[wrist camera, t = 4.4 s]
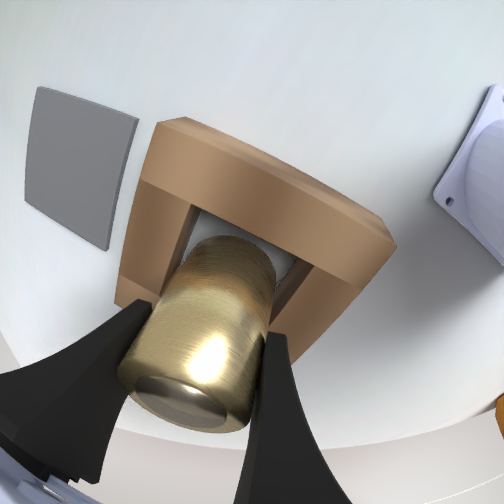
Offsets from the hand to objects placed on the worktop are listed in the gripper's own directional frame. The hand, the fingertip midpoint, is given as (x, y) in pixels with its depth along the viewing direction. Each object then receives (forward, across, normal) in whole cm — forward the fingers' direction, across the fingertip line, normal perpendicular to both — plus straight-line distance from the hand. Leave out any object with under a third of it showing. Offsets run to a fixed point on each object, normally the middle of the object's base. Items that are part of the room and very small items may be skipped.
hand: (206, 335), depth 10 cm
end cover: (+4, 0, 0) cm, 4 cm away
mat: (+6, +12, -4) cm, 14 cm away
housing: (+6, 0, 0) cm, 6 cm away
